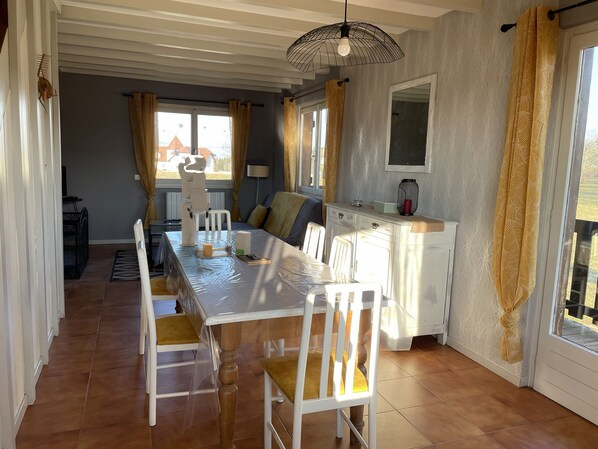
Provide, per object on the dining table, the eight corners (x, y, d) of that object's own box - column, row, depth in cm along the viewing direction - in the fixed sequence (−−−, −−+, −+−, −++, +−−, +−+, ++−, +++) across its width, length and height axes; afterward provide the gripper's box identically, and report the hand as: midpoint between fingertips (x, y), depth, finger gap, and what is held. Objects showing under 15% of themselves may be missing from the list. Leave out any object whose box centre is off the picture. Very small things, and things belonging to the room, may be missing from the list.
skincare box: (234, 255, 296) (235, 231, 294) (240, 253, 302) (240, 230, 300) (245, 256, 293) (245, 233, 290) (250, 254, 298) (251, 231, 296)
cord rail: (197, 255, 292) (197, 245, 292) (228, 253, 302) (229, 243, 301) (200, 258, 283) (200, 248, 283) (233, 256, 293) (233, 246, 292)
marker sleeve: (202, 254, 292) (202, 243, 291) (210, 253, 294) (210, 243, 293) (204, 255, 287) (204, 245, 286) (212, 255, 289) (212, 244, 288)
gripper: (211, 191, 288) (211, 217, 290) (183, 191, 280) (184, 218, 282) (214, 191, 281) (214, 218, 283) (186, 191, 274) (186, 219, 275)
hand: (199, 218), depth 283 cm, fingers open, 9 cm apart
